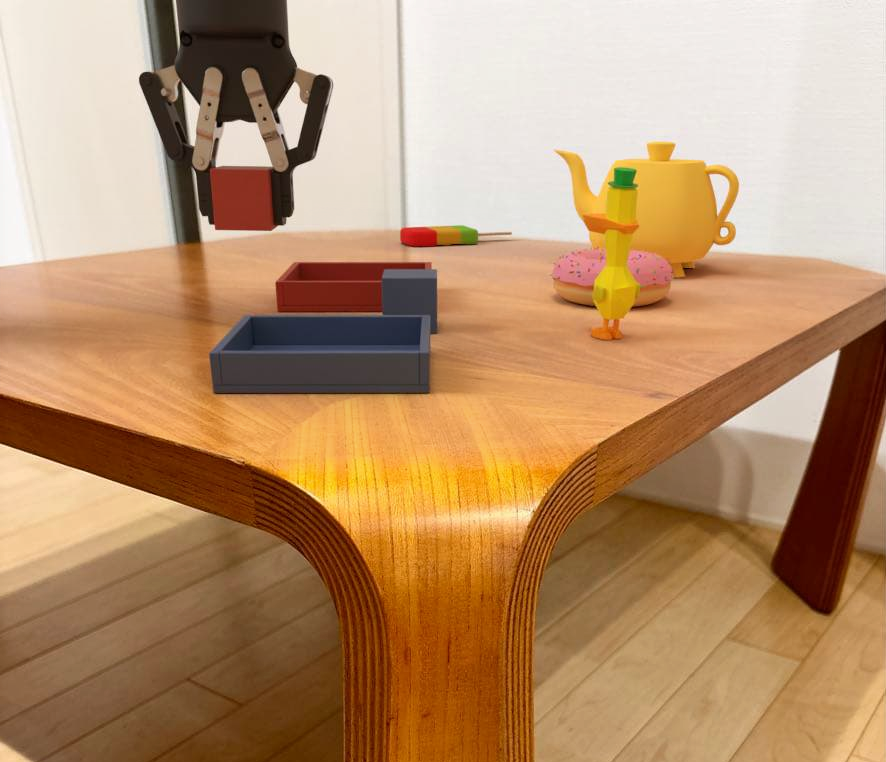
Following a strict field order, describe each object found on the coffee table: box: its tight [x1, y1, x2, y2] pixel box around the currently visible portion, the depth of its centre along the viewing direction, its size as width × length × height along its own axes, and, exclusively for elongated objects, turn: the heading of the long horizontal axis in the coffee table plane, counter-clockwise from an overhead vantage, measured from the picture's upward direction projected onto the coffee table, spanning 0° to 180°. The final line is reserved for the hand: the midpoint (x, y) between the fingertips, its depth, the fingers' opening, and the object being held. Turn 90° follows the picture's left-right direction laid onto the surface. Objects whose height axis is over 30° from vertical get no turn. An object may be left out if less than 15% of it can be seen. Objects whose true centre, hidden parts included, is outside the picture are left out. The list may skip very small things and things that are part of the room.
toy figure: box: [583, 167, 641, 341], centre depth 67 cm, size 7×4×12 cm, turn 27°
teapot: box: [553, 141, 740, 278], centre depth 97 cm, size 14×20×13 cm
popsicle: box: [399, 224, 513, 248], centre depth 119 cm, size 6×15×2 cm, turn 110°
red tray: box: [274, 261, 433, 313], centre depth 83 cm, size 13×11×2 cm
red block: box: [210, 165, 278, 232], centre depth 68 cm, size 4×4×4 cm
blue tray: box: [208, 314, 431, 394], centre depth 60 cm, size 13×11×2 cm
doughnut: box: [549, 247, 675, 308], centre depth 83 cm, size 11×11×4 cm
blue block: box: [381, 268, 438, 334], centre depth 72 cm, size 4×4×4 cm
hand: (247, 222), depth 69 cm, fingers closed on red block, 4 cm apart
